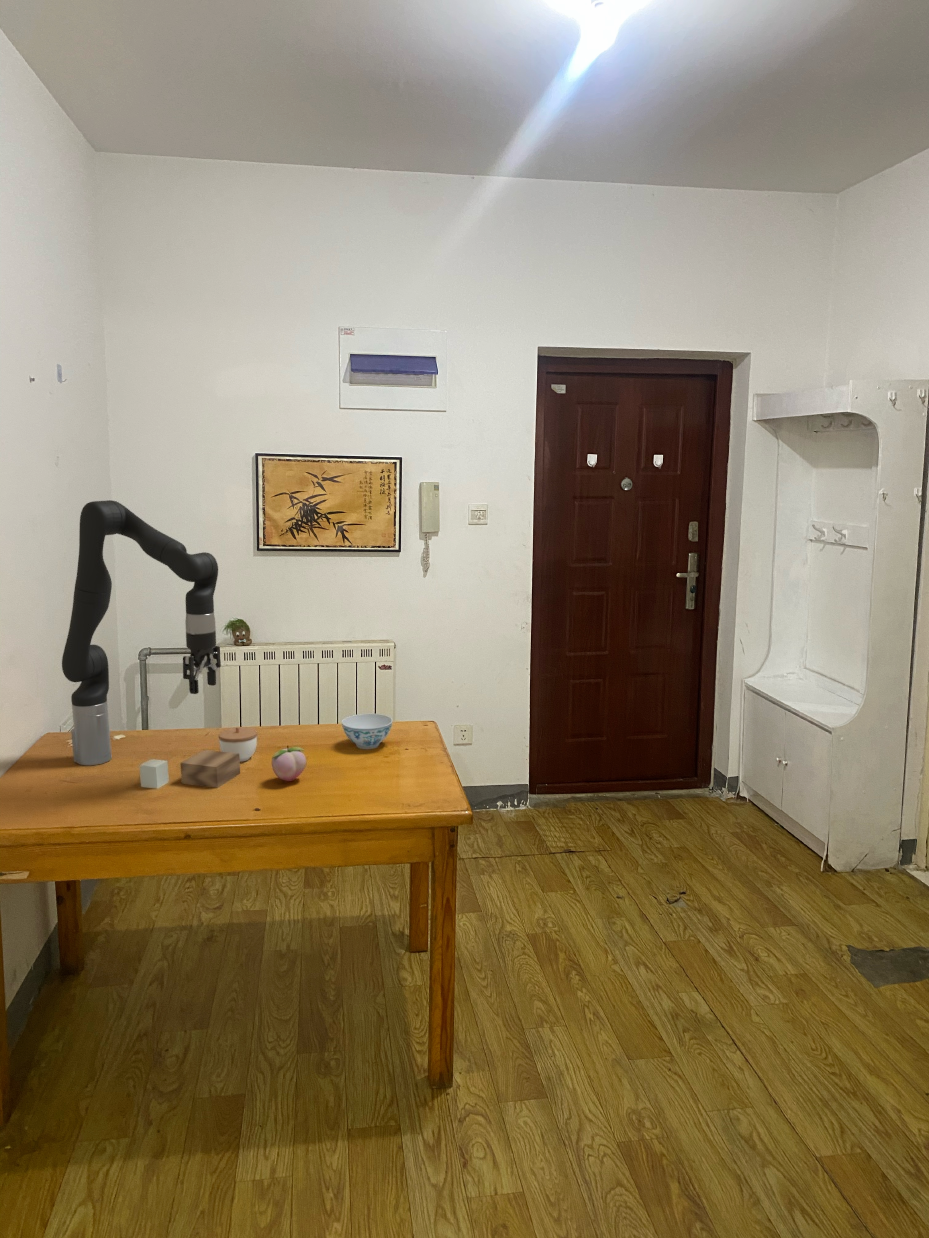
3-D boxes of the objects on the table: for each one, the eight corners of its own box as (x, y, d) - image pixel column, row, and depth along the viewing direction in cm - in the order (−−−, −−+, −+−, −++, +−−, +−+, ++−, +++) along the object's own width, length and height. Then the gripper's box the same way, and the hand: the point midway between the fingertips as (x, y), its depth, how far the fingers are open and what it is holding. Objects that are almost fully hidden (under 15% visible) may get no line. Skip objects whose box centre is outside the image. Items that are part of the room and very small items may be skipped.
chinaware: (390, 753, 260) (389, 728, 258) (338, 753, 260) (338, 728, 258) (395, 737, 274) (394, 713, 273) (346, 737, 275) (345, 713, 273)
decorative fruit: (294, 772, 245) (293, 737, 243) (312, 780, 239) (310, 744, 237) (265, 781, 238) (263, 745, 236) (282, 789, 232) (280, 753, 231)
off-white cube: (141, 786, 235) (139, 765, 234) (152, 780, 240) (151, 758, 239) (157, 788, 234) (155, 767, 232) (168, 782, 238) (167, 760, 237)
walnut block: (181, 784, 237) (180, 762, 236) (205, 770, 248) (204, 749, 246) (217, 788, 234) (216, 767, 233) (240, 774, 244) (239, 753, 243)
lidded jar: (248, 766, 250) (246, 734, 248) (213, 763, 252) (211, 731, 250) (264, 753, 260) (262, 722, 258) (230, 751, 262) (228, 720, 260)
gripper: (203, 623, 241) (205, 681, 244) (172, 633, 227) (175, 695, 231) (227, 625, 239) (229, 683, 242) (198, 636, 225) (200, 697, 229)
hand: (203, 689), depth 236 cm, fingers open, 8 cm apart
